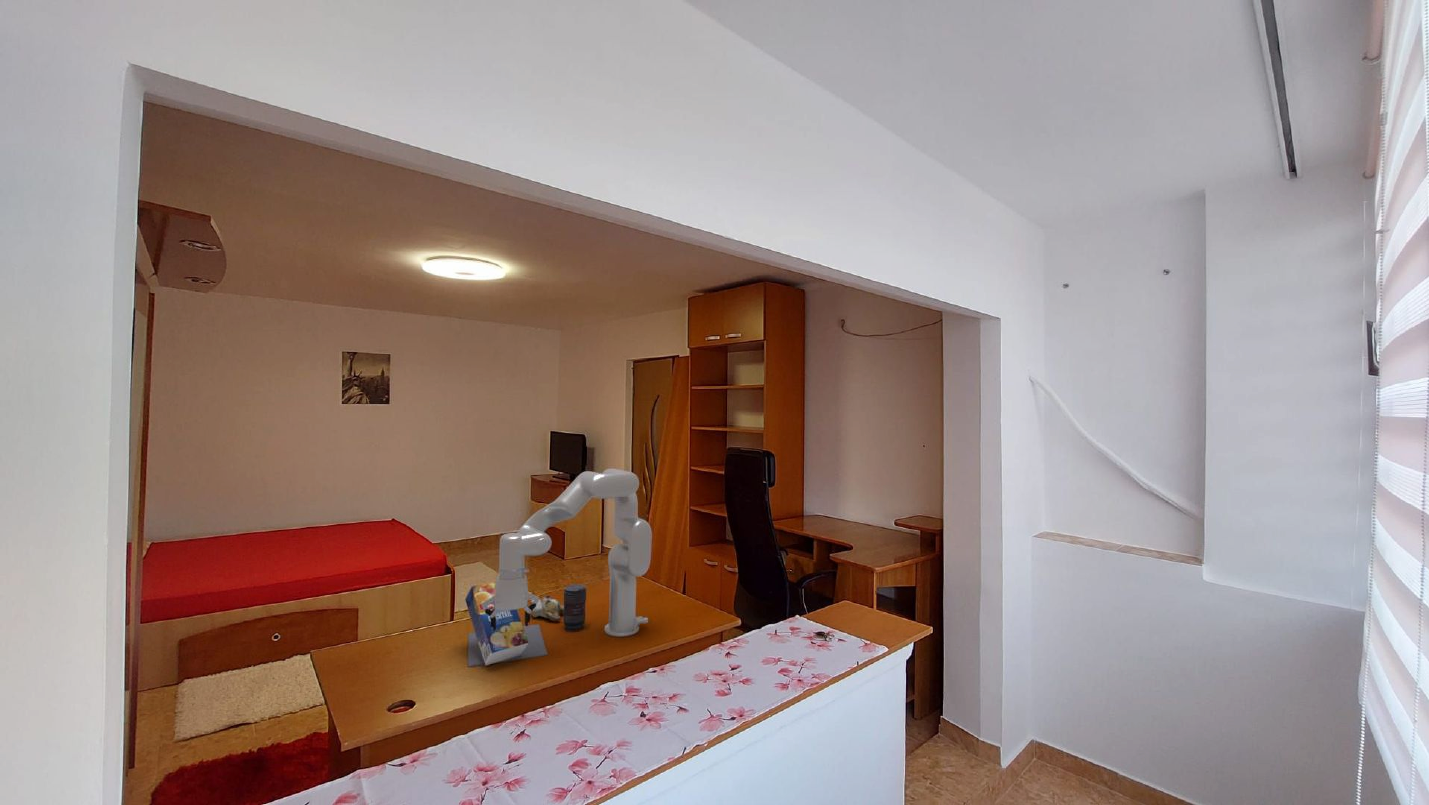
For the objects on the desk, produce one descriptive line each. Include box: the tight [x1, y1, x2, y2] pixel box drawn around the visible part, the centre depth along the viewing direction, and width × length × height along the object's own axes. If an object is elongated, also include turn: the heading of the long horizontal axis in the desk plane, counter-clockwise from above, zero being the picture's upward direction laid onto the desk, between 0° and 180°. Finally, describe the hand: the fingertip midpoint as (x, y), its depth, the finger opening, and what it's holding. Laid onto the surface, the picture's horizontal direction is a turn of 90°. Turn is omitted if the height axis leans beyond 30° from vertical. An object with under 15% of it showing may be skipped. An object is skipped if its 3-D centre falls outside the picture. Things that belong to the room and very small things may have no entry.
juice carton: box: [464, 581, 528, 666], centre depth 186 cm, size 12×8×24 cm
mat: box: [467, 623, 548, 668], centre depth 194 cm, size 24×26×1 cm
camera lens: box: [562, 584, 587, 632], centre depth 209 cm, size 8×8×15 cm
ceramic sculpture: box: [530, 595, 564, 622], centre depth 218 cm, size 11×9×15 cm
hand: (510, 626), depth 179 cm, fingers open, 9 cm apart
